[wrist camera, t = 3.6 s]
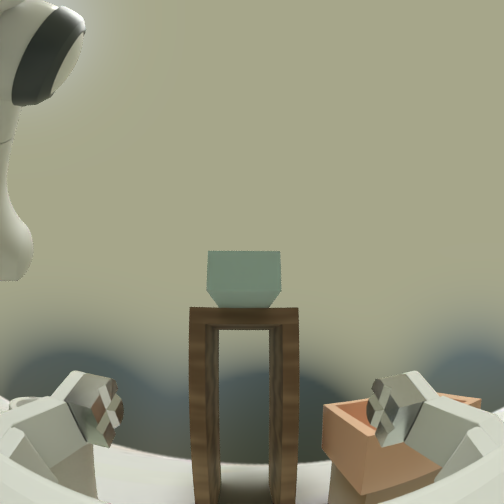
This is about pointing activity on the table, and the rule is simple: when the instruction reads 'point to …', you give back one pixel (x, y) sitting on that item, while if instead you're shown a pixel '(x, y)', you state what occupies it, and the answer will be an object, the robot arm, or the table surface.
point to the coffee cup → (71, 463)
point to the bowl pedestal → (371, 457)
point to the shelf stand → (281, 396)
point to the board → (244, 278)
